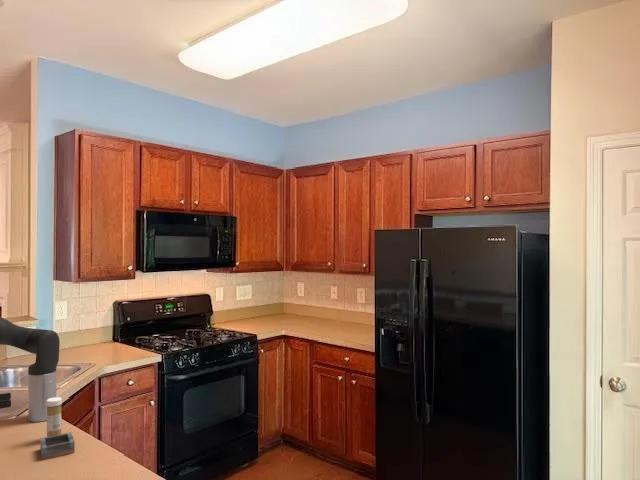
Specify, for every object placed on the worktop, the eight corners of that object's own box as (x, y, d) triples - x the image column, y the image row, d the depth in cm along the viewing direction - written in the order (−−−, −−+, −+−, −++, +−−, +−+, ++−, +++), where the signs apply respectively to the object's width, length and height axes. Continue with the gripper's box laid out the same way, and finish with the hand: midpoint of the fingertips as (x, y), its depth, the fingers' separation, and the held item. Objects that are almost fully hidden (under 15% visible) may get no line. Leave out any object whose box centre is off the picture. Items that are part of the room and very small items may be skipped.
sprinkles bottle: (61, 434, 164) (61, 395, 164) (62, 439, 160) (62, 399, 160) (46, 437, 162) (46, 398, 162) (46, 442, 158) (46, 402, 158)
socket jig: (40, 449, 152) (40, 438, 152) (71, 442, 157) (71, 432, 157) (42, 459, 145) (42, 448, 145) (74, 452, 150) (74, 441, 150)
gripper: (-55, 402, 139) (11, 393, 148) (-51, 390, 151) (10, 382, 160) (-55, 428, 139) (11, 417, 148) (-51, 414, 151) (10, 404, 160)
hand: (10, 399), depth 154 cm, fingers open, 8 cm apart
